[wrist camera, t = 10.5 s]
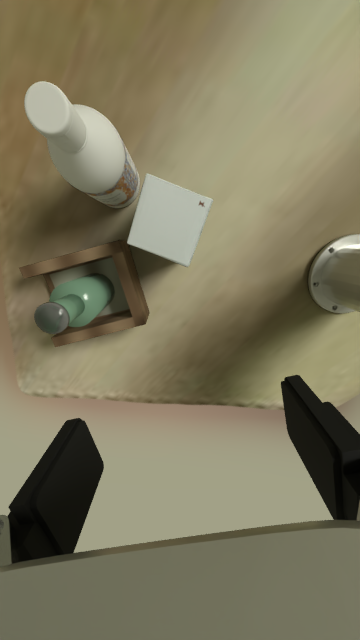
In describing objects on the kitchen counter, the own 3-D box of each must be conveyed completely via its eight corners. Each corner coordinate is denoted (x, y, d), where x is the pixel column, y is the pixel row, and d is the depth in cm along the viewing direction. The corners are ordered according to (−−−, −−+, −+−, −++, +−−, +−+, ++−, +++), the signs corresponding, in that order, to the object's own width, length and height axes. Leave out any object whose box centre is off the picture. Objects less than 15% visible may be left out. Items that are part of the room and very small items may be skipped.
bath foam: (98, 212, 36) (12, 175, 17) (86, 158, 34) (-28, 47, 15) (144, 205, 36) (110, 160, 17) (135, 151, 34) (84, 29, 14)
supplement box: (155, 194, 35) (146, 168, 23) (202, 213, 36) (216, 198, 24) (140, 243, 37) (124, 243, 25) (184, 260, 38) (189, 268, 26)
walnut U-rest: (127, 240, 37) (118, 240, 31) (149, 312, 41) (145, 324, 35) (42, 264, 38) (18, 267, 32) (71, 332, 41) (55, 347, 36)
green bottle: (107, 268, 37) (66, 284, 23) (119, 302, 39) (87, 337, 24) (73, 278, 37) (11, 299, 23) (86, 311, 39) (36, 350, 25)
